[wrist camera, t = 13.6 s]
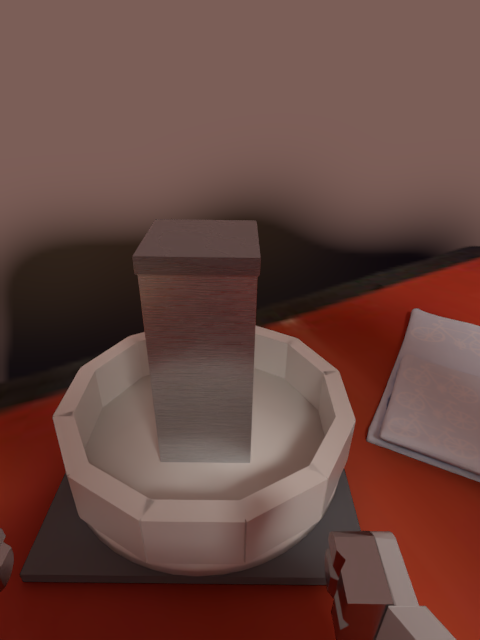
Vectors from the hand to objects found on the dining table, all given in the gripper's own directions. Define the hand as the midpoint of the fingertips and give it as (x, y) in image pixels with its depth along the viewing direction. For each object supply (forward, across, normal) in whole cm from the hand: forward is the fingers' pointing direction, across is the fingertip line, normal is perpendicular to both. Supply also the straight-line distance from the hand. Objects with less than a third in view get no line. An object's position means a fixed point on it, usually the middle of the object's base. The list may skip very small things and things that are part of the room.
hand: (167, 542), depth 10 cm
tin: (+12, 0, +8) cm, 15 cm away
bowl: (+12, 0, +9) cm, 15 cm away
